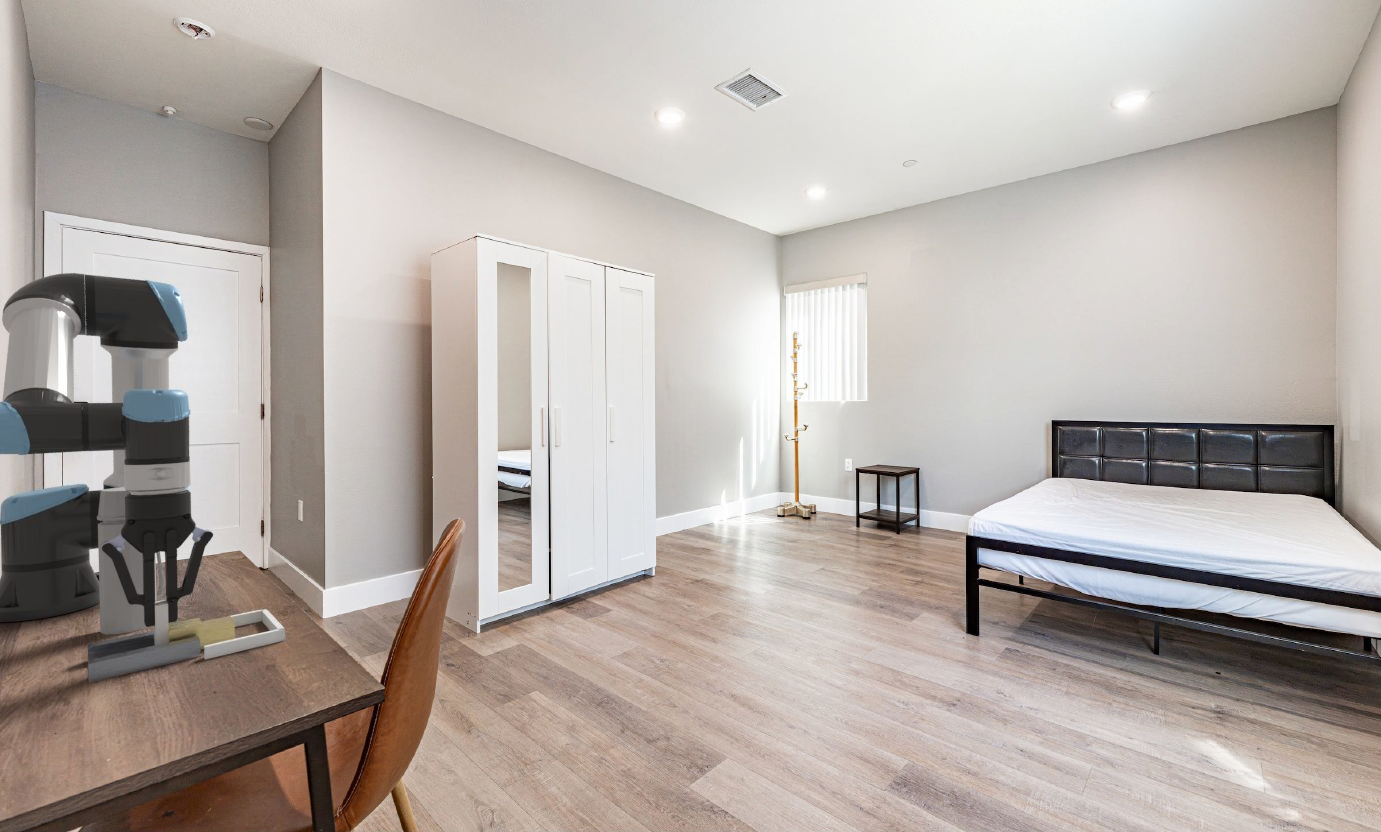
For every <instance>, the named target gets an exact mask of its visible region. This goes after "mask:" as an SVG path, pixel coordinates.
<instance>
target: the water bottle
mask: <svg viewBox="0 0 1381 832" xmlns="http://www.w3.org/2000/svg"><path fill="white" fill-rule="evenodd" d="M100 490H101V494H100V503H99V512H98V516H97V520H101V521H103V522H101V523H99V524H98V548H97V549H98V581H99V592H100V602H99V623H100V625H99V627H100V628H99V629H100V631H99V632H100V633H101V634H103V635H107V636H108V635H120V634H128V633H133V632H134V633H135V632H137V631H141V630H144V629H147V628H149V627H146V625H145V623H144V606H142V605H137V604H134V605H131V604H129V603H128V601H127V598H126V595H125V593H124V590H123V587H122V585H121V582H120V579H119V577H118V574H117V571H116V569H115V566H114V564H113V561H112V559H111V558H110V557H109V556H108V555H107V554H106V553H105V552H103V550H102V543H104V542H106V541H110V540H112V539H114V538H115V537H117V536H119V535H120V534H121V530H122V528H123V527H124V525H125V497H126V496H127V495H128V494H129V493H130V491H126V490H125V487H119V488H110V489H104V490H103V489H100ZM124 546H125V549H124V550H123V551H122V554H123V556H124V559H125V562H126V564H127V567H128V570H129V573H130V575H131V578H132V581H133V583H134V586H135V589H136V591H137V594H143V556H142V553H140V552H139V551H138V550H136V549H135V548H134V547H133V546H132V545H131V544H129V543H128V542H127V541H125V542H124ZM155 555H156V556H155V602H156V601H157V598H159V597H162V596H163V595H164V590H165V577H164V571H163V569H164V568H163V562H162V558H161V551H160V552H157V553H155ZM156 562H157V564H156ZM156 566H157V568H158V575H159V591H158V594H157V568H156Z"/></svg>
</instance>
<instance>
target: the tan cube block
mask: <svg viewBox="0 0 1381 832" xmlns="http://www.w3.org/2000/svg"><path fill="white" fill-rule="evenodd" d="M202 622H203V621H202V620H201V619H200V617H194V618H191V619H184V620H179V621H176V622H170V623H168V628H169V630H168V633H169V642H173V641H178V640H183V639H187V638H192V637H196V636H199V638H200V651H202V650H204V649H203V623H202Z"/></svg>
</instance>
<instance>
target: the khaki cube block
mask: <svg viewBox="0 0 1381 832" xmlns="http://www.w3.org/2000/svg"><path fill="white" fill-rule="evenodd" d="M231 616H232V615H228V616H222V617H219V618H218V617H217V618H212V619H213V620H212V619H207V620H208V621H207V620H204V621H201V622H202V623H203V649H202V650H204V646H205V645H210V644H214V643H219V642H223V641H227V640H232V639H236V627H235V622H234V621H233V619H232V618H231Z"/></svg>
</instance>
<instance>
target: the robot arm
mask: <svg viewBox="0 0 1381 832" xmlns="http://www.w3.org/2000/svg"><path fill="white" fill-rule="evenodd" d="M1 317H2V319H1V322H2V325H3V327H4V329H5V331H7V332H8V333H9V337H8V344H7V354H6V364H5V373H4V384H3V393H2V401H0V455H18V456H27V455H38V454H40V455H41V454H59V453H76V452H77V453H79V452H80V453H81V452H100V451H101V452H103V451H105V452H106V451H113V452H112V454H113V455H112V457H113V460H112V462H113V472H112V473H111V474H110V475H108V476H107V477H106V478H105V479H104V480H103V483H102V484H103V488H102V489H98V490H90V487H89V486H88V485H87V484H86V483H76V484H67V485H60V486H54V487H53V486H51V487H46V488H41V489H40V488H39V489H35V490H31V491H25V492H22V493H21V492H20V493H16V494H14V495H10V496H8V497H7V498H5V499H4V500H3V501H2V503H1V504H0V553H1V554H0V559H1V560H0V561H1V563H0V564H1V574H0V575H1V576H0V623H10V622H12V623H13V622H24V621H32V620H33V621H34V620H39V619H46V618H50V617H56V616H62V615H65V614H69V613H73V612H77V611H81V610H84V609H88V608H90V607H92V606H95V605H98V604H100V592H99V578H98V577H97V575H96V573H95V571H94V569H93V567H92V565H91V561H90V558H91V557H90V550H95V549H98V524H99V523H101V522H103V521H101V520H97V516H98V512H99V503H100V494H101V490H104V489H110V488H119V487H125V490H126V491H130V493H129V494H128V495H127V496H126V497H125V525H124V527H123V528H122V530H121V534H120V535H119V536H117V537H115V538H114V539H112V540H110V541H106V542H104V543H102V550H103V552H105V553H106V554H107V555H108V556H109V557H110V558H111V559H112V561H113V564H114V566H115V569H116V571H117V574H118V577H119V579H120V582H121V585H122V587H123V590H124V593H125V595H126V598H127V601H128V603H129V604H131V605H134V604H137V605H142V606H144V623H145V625H146V627H148V628H149V627H150V628H151V627H154V628H153V629H154V630H153V631H154V643H155V645H160V644H164V643H169V633H168V630H169V628H168V624H169V623H174V622H178V618H179V614H178V613H179V611H178V609H179V607H178V603H179V600H180V599H181V598H184V597H186V596H189V595H192V593H193V592H194V589H195V585H196V580H197V578H198V577H197V576H198V574H199V570H200V566H201V563H202V561H203V560H202V559H203V555H204V552H205V549H206V547H207V545H208V544H209V543H210V541H211V540H212V539H213V537H214V533H213V532H212V531H211V530H210V529H204V528H201V527H199V526H197V525H196V522H195V521H194V519H193V518H192V493H191V491H190V490H189V488H188V487H190V486H191V461H190V459H191V458H190V457H191V456H190V415H191V409H190V406H189V405H190V403H189V395H188V393H187V392H186V391H184V390H182V389H170V377H169V376H170V373H169V372H170V369H169V368H170V363H169V362H170V361H169V359H170V357H171V356H172V355H173V354H175V353H176V352H177V351H178V350H179V342H181V343H183V342H185V341H187V340H188V335H189V334H188V325H187V319H186V313H185V308H184V303H183V299H182V296H181V294H180V291H179V290H178V288H177V287H176V286H175V285H172V284H171V283H165V282H161V281H160V282H159V281H152V280H148V279H145V280H143V279H142V280H141V279H133V278H125V277H124V278H123V277H112V276H102V275H93V274H85V273H78V272H77V273H76V272H69V273H68V272H67V273H65V272H64V273H57V274H52V275H48V276H45V277H40V278H38V279H35V280H33V281H32V282H31V281H30V282H29V283H27V284H25V285H24V286H22V287H20V288H19V289H17V290H16V291H15V292H14V293H12V295H11V296H10V297H9V298H8V299H7V301H6V302H5V304H4V307H3V309H2V316H1ZM78 336H88V337H99V338H100V345H99V346H100V347H101V348H102V349H104V350H105V351H106V352H107V353H109V354H110V356H111V395H112V396H111V398H112V399H111V401H112V402H75V399H74V397H75V395H74V394H75V391H74V390H75V387H74V385H75V384H74V383H75V382H74V378H75V377H74V376H75V375H74V373H75V372H74V371H75V369H74V365H75V364H74V362H75V361H74V359H75V358H74V339H75V338H77V337H78ZM191 534H192V538H191V539H192V541H193V542H194V543H193V545H192V548H191V552H190V556H189V559H188V562H187V566H186V570H185V573H184V577H183V581H182V583H181V586H180V587H179V586H178V584H179V582H178V549H179V548H180V547H181V546H182V545H183V544H184V543H185V542H186V540H187V539H189V537H190V536H191ZM125 541H127V542H128V543H129V544H131V545H132V546H133V547H134V548H135V549H136V550H138V551H139V552H140V553H142V556H143V594H137V591H136V589H135V586H134V583H133V581H132V578H131V575H130V573H129V570H128V567H127V564H126V562H125V559H124V556H123V554H122V551H123V550H124V549H125V546H124V542H125ZM157 552H160V553H161V552H164V564H165V568H164V570H165V597H166V598H165V599H163V600H158V601H157V600H156V602H155V557H156V553H157Z"/></svg>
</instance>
